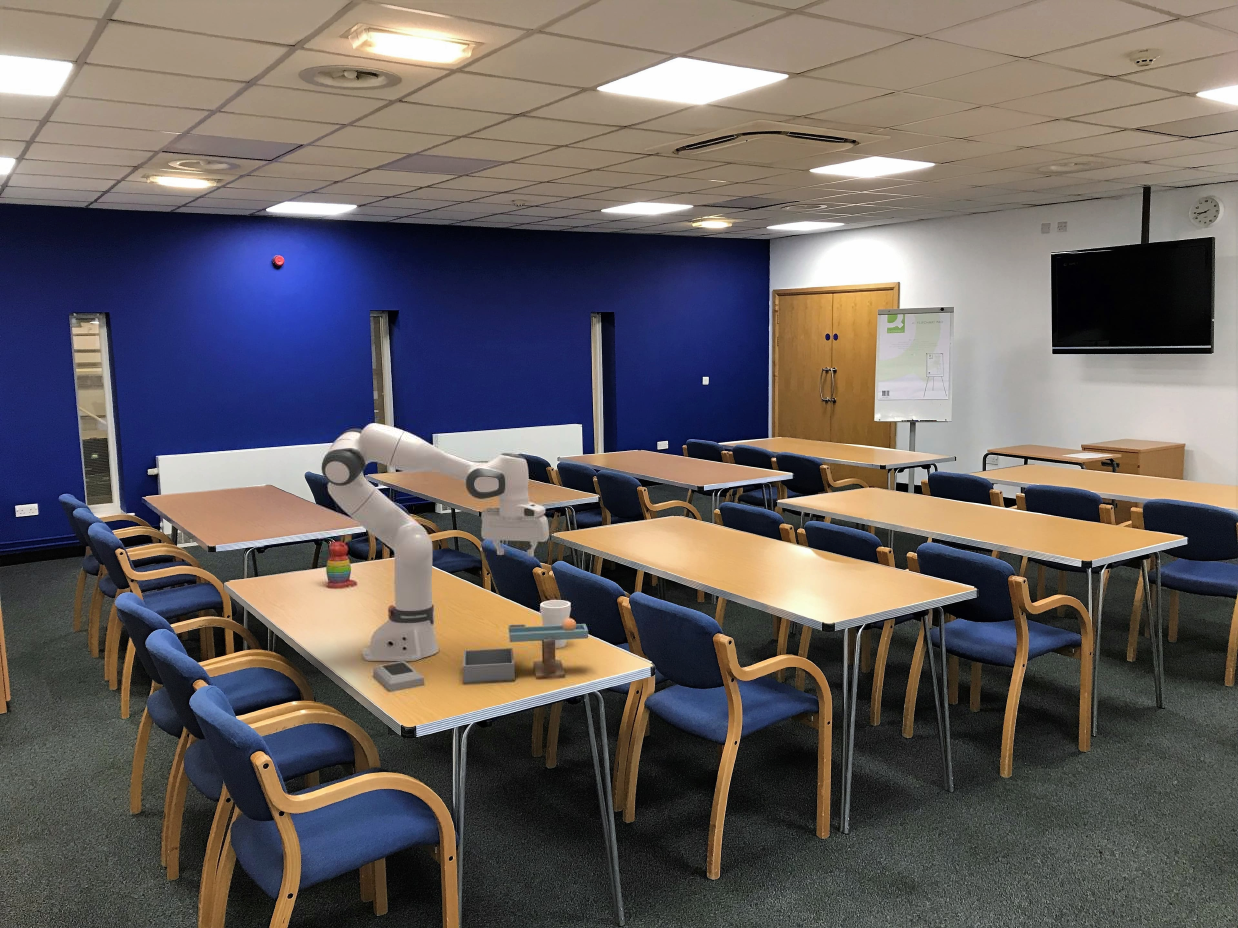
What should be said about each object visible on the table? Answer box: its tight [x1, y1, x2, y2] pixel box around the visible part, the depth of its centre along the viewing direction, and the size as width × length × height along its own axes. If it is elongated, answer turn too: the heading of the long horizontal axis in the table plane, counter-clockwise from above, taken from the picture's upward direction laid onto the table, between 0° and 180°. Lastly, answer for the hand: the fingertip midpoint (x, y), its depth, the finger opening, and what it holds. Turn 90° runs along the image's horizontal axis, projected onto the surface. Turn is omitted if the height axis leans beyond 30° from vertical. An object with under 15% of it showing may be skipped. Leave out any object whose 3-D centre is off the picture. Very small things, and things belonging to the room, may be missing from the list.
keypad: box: [372, 661, 425, 692], centre depth 258 cm, size 10×4×15 cm
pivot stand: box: [533, 638, 566, 680], centre depth 265 cm, size 8×13×11 cm, turn 9°
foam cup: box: [539, 599, 572, 649], centre depth 289 cm, size 10×9×13 cm
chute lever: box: [507, 623, 589, 643], centre depth 267 cm, size 22×13×2 cm, turn 99°
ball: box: [562, 617, 577, 631], centre depth 265 cm, size 4×4×4 cm
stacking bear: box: [325, 541, 358, 589], centre depth 366 cm, size 11×10×18 cm
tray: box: [462, 647, 516, 685], centre depth 263 cm, size 14×14×5 cm
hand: (515, 555), depth 272 cm, fingers open, 8 cm apart
